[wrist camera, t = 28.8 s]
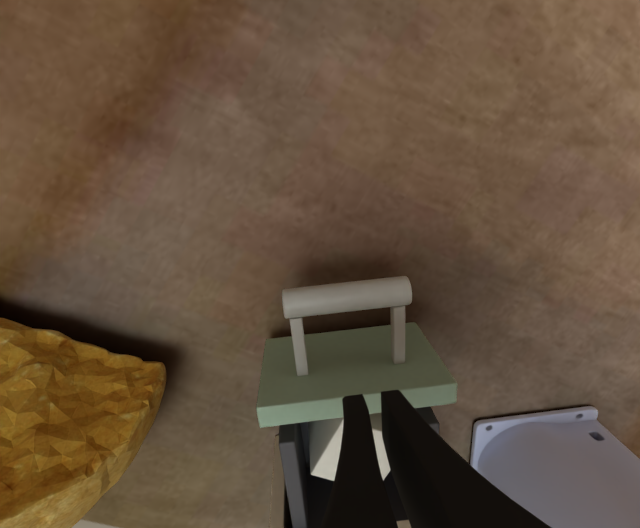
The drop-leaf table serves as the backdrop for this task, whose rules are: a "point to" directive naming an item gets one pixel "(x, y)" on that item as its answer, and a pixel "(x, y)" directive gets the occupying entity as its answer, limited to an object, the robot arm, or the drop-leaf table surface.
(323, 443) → the white cube
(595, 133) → the drop-leaf table surface
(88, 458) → the decorative stone
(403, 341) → the green drawer
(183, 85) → the drop-leaf table surface
